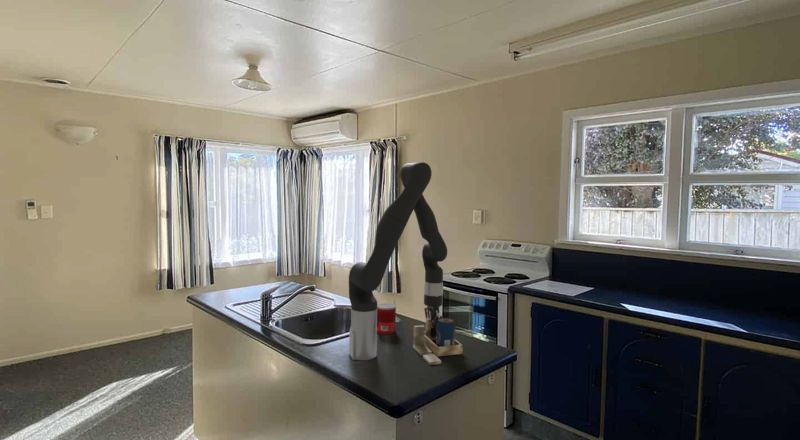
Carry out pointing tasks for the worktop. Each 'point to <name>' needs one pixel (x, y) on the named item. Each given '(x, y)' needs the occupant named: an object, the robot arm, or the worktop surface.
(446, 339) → the soda can
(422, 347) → the wooden l-shaped bracket
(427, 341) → the wooden caddy
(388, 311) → the canned food
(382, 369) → the worktop surface
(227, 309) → the worktop surface
